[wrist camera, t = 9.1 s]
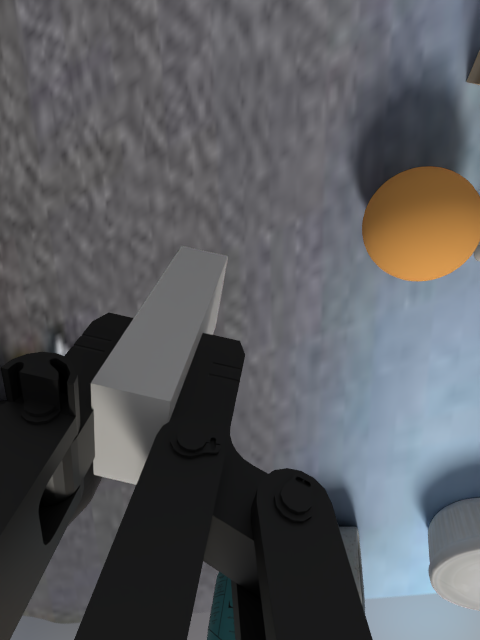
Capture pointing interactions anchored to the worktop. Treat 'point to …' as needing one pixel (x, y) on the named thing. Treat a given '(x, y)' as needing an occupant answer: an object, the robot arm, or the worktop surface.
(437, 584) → the ramekin
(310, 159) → the worktop surface
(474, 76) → the triangular peg stand
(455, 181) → the ball
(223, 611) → the beverage bottle
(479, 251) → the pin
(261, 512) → the robot arm
